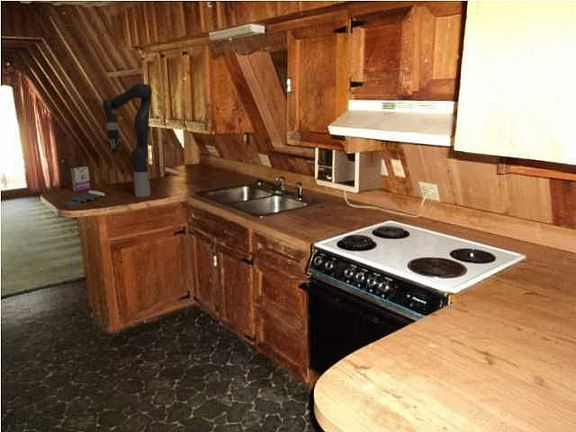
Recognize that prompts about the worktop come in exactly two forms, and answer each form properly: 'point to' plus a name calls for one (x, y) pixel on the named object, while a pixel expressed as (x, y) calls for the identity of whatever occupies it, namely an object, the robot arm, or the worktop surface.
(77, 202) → the domino
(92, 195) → the domino
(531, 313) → the worktop surface
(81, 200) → the domino
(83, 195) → the domino
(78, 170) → the candy bar box
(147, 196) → the robot arm
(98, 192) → the ivory domino
